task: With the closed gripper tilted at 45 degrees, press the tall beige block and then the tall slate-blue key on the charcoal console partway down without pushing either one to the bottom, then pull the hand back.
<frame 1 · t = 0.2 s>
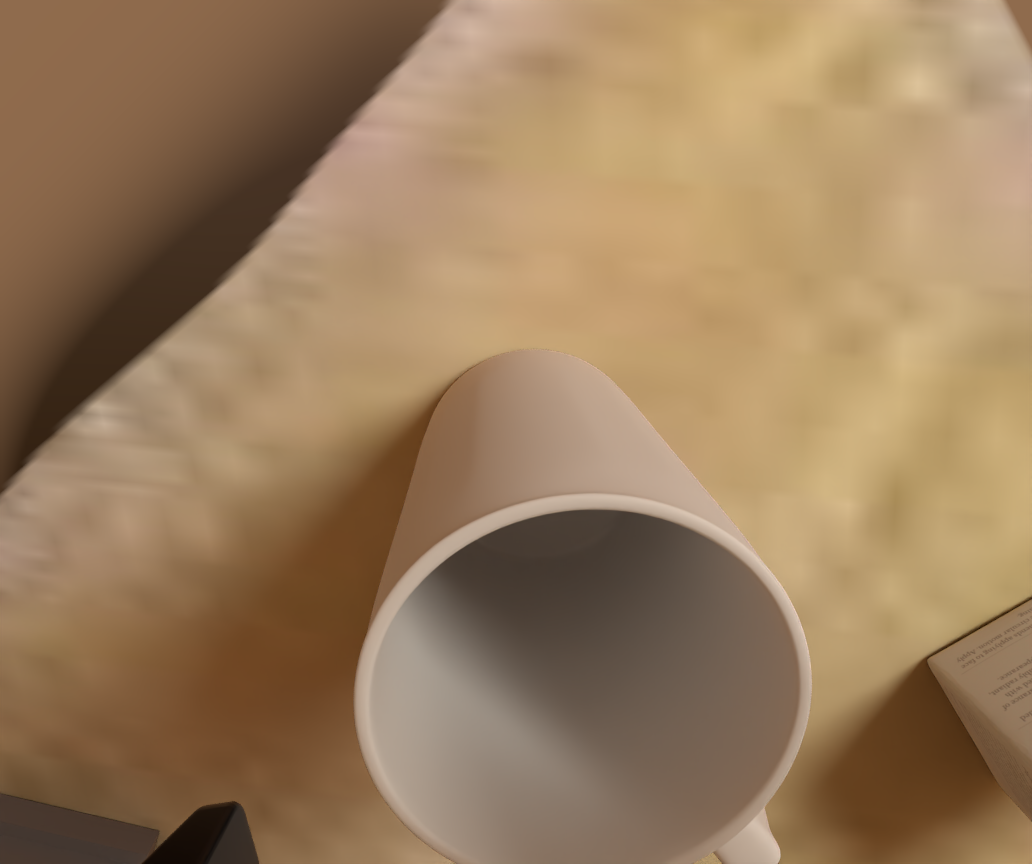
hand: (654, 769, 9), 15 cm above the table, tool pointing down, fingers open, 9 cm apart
mug: (565, 491, 24), on the table
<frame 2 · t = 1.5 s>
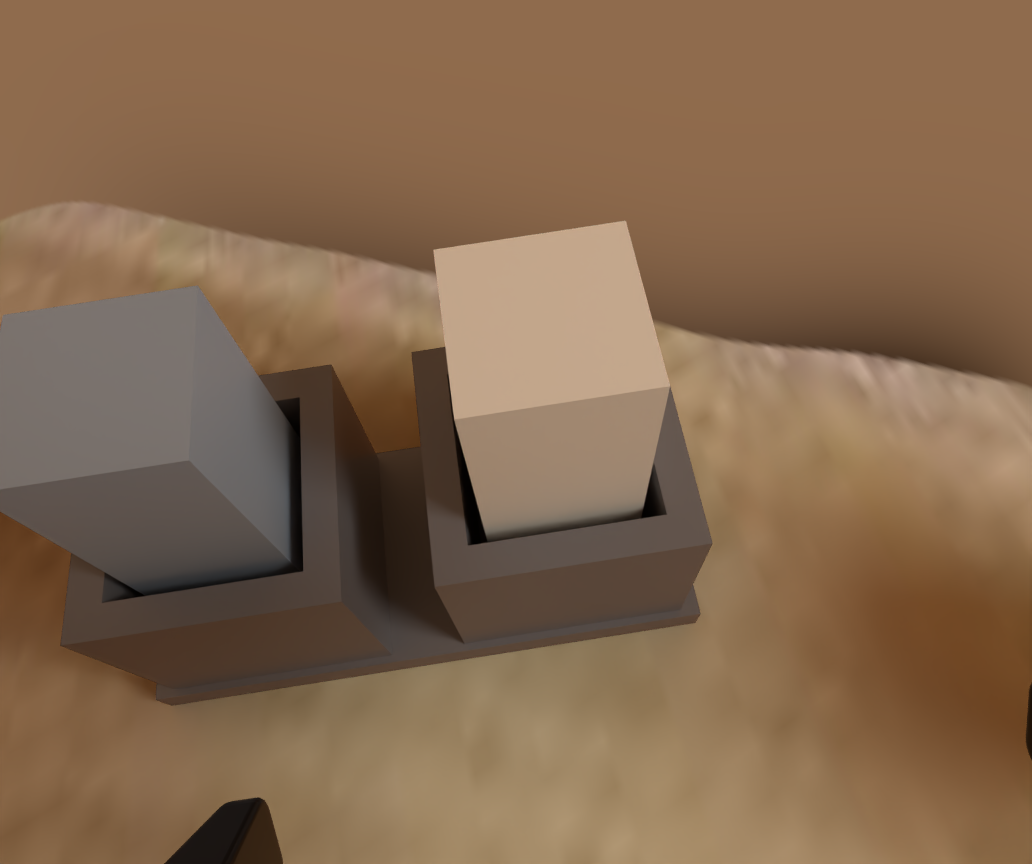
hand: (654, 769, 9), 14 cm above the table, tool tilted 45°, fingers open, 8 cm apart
slate key: (178, 467, 17), point 8 cm above the table, slide at 0.0 cm
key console: (424, 556, 24), on the table
beige block: (549, 409, 17), point 8 cm above the table, slide at 0.0 cm
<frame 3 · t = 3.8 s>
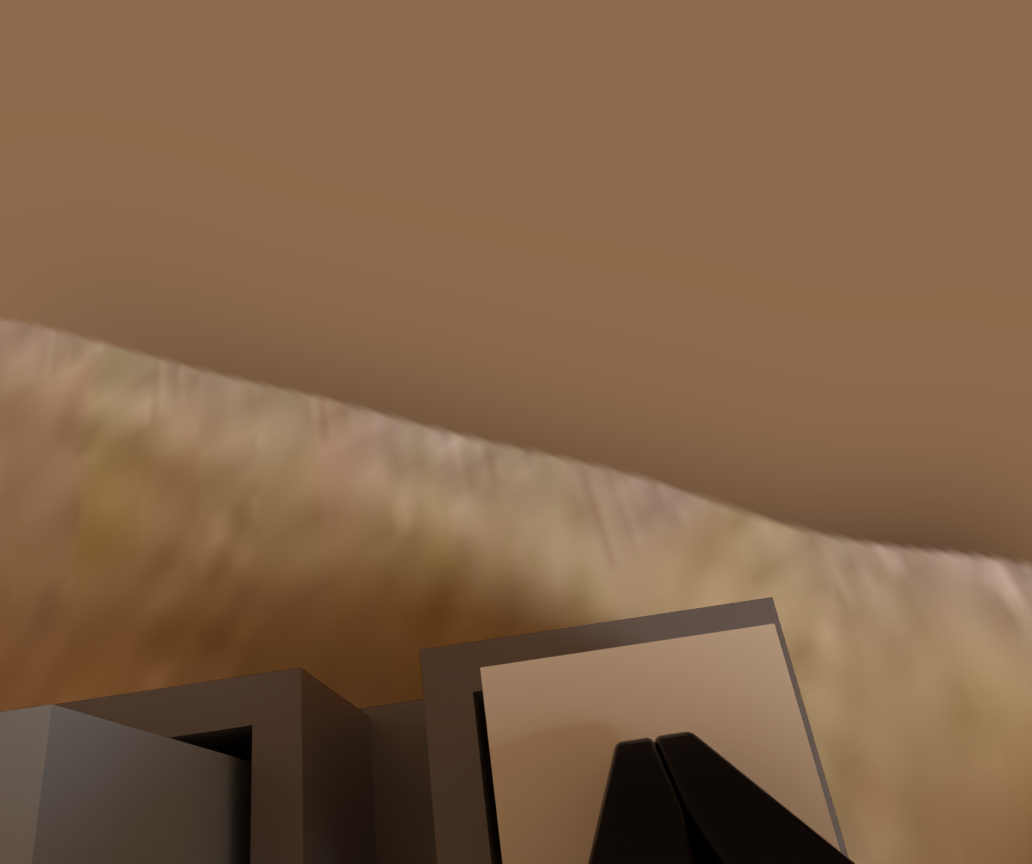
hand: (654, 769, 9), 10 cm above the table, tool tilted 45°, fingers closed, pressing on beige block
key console: (430, 857, 18), on the table
beige block: (634, 819, 12), point 7 cm above the table, slide at 1.3 cm, touching gripper
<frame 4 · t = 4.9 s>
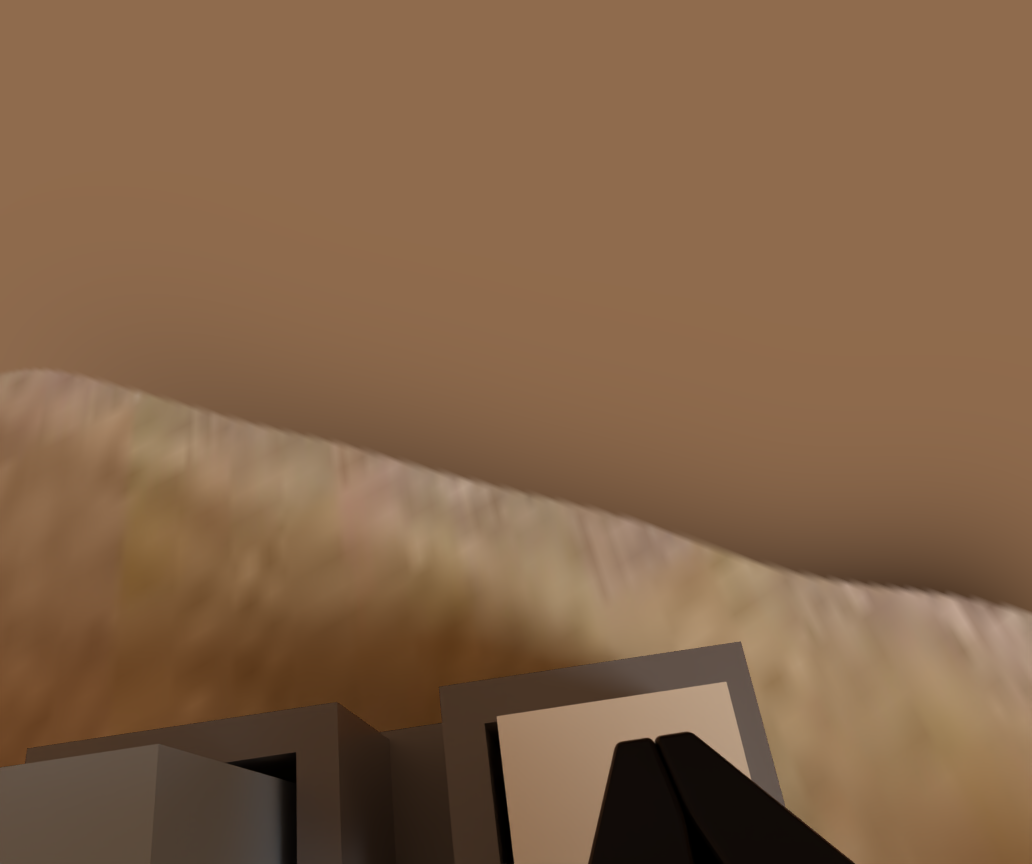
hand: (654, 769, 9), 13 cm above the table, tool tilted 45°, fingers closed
beige block: (619, 834, 15), point 6 cm above the table, slide at 1.9 cm
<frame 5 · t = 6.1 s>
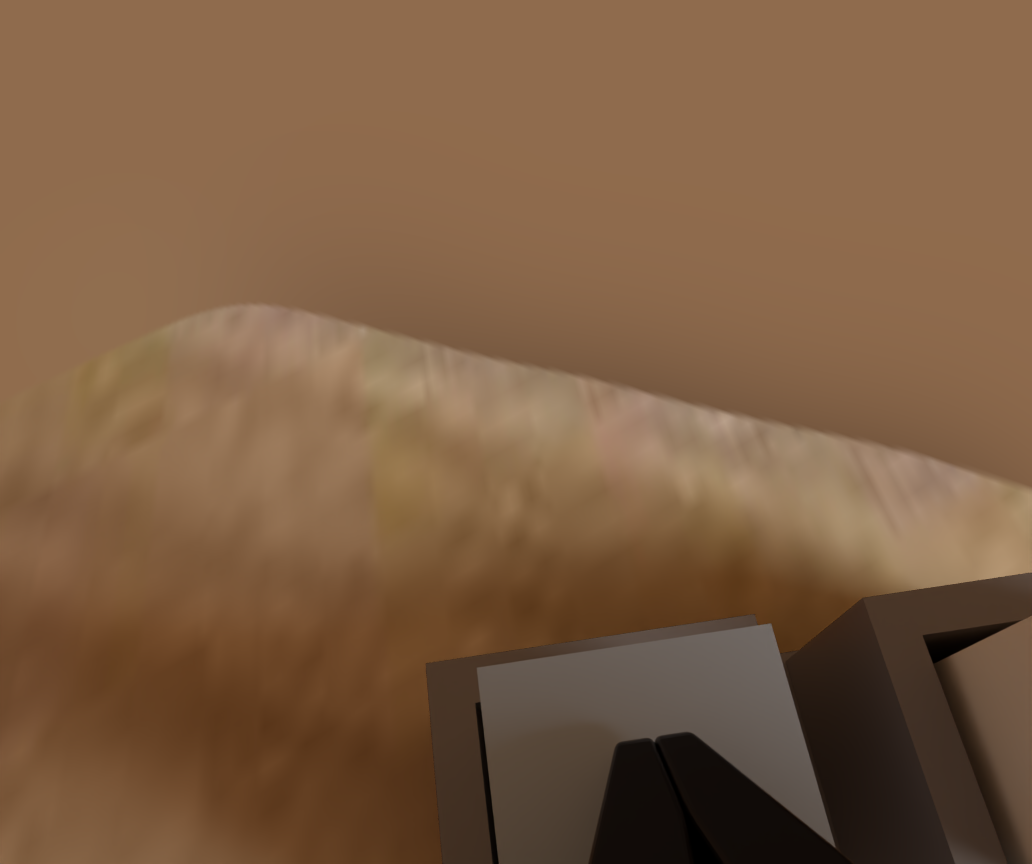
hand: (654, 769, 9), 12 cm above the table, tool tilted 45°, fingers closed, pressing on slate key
slate key: (630, 819, 12), point 8 cm above the table, slide at 0.3 cm, touching gripper
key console: (770, 804, 19), on the table
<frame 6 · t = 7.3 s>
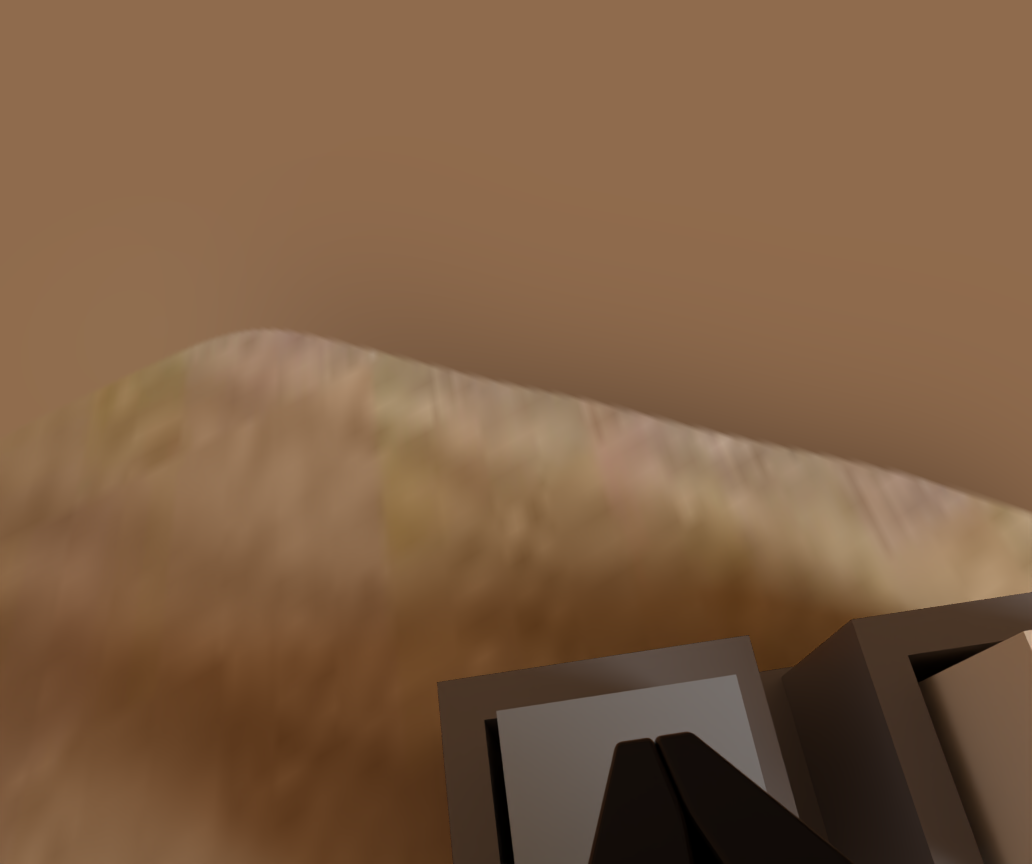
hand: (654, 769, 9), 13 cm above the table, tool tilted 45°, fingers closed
slate key: (624, 833, 14), point 6 cm above the table, slide at 1.8 cm
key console: (767, 815, 20), on the table
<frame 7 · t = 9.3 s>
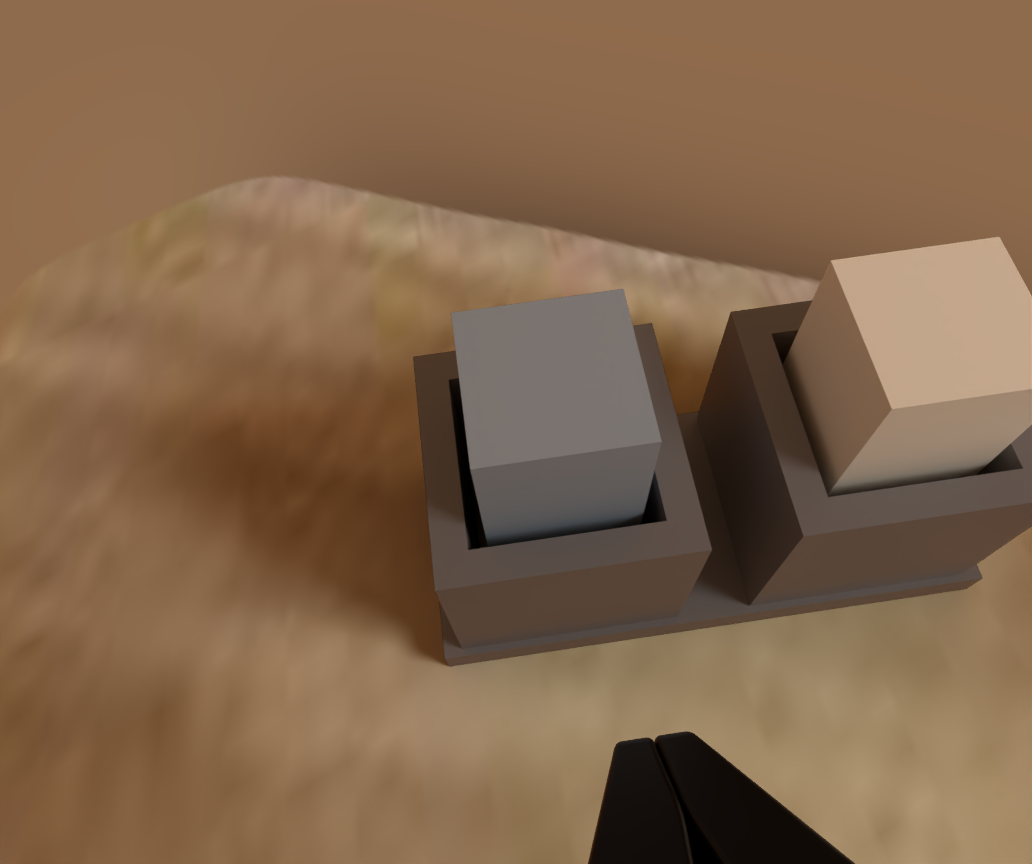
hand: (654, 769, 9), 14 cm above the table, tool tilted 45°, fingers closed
slate key: (552, 452, 19), point 6 cm above the table, slide at 1.8 cm
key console: (683, 523, 24), on the table
beige block: (885, 405, 19), point 6 cm above the table, slide at 1.9 cm
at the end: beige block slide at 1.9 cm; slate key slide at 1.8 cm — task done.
